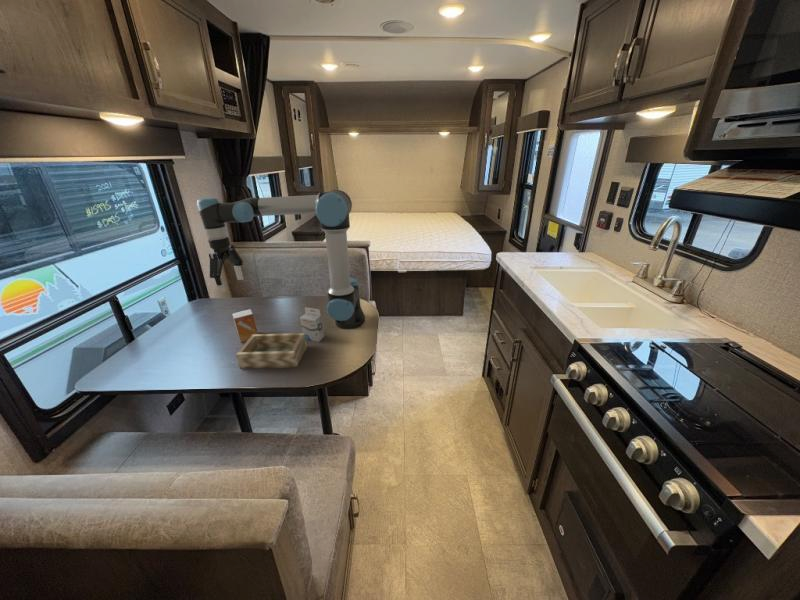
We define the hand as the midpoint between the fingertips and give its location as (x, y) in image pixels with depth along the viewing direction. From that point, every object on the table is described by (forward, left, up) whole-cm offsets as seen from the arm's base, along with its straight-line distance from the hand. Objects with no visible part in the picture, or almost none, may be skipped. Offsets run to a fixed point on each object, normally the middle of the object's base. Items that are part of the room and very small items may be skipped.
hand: (232, 285), depth 135 cm
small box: (-1, 0, -28) cm, 28 cm away
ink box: (-32, +2, -28) cm, 43 cm away
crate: (-20, +16, -27) cm, 37 cm away
